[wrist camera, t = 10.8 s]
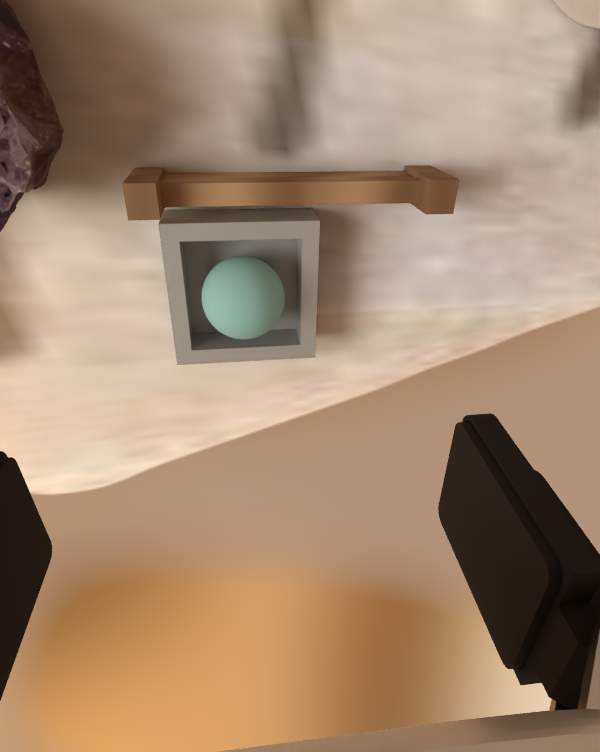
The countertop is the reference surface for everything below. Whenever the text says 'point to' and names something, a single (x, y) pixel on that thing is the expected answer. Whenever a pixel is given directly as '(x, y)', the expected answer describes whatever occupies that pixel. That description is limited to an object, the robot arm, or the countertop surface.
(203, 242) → the dish
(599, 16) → the teacup
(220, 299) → the ball
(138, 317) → the countertop surface
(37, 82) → the rock
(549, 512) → the robot arm
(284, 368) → the countertop surface
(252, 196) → the rail
